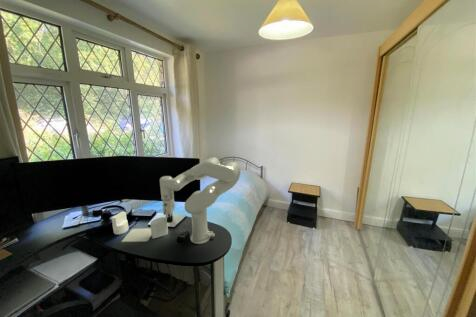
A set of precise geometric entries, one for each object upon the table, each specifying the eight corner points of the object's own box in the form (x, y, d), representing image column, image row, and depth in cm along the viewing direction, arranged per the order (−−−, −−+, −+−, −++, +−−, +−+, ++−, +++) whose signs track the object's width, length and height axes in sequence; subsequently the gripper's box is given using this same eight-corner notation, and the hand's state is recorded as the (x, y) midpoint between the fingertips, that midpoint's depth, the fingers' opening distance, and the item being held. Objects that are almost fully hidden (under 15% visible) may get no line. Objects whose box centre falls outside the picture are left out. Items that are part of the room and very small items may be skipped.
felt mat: (155, 228, 138) (155, 228, 138) (147, 241, 125) (147, 240, 125) (132, 229, 138) (132, 228, 138) (121, 242, 124) (121, 241, 124)
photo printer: (167, 231, 135) (165, 214, 132) (169, 234, 132) (167, 217, 129) (151, 236, 130) (149, 219, 127) (152, 239, 126) (150, 222, 123)
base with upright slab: (121, 225, 142) (119, 210, 139) (131, 227, 140) (129, 212, 137) (110, 233, 134) (107, 217, 131) (121, 235, 131) (118, 218, 129)
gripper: (170, 200, 118) (172, 228, 122) (176, 191, 132) (178, 216, 136) (157, 201, 117) (160, 228, 121) (165, 191, 132) (167, 216, 136)
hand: (169, 221), depth 129 cm, fingers closed
